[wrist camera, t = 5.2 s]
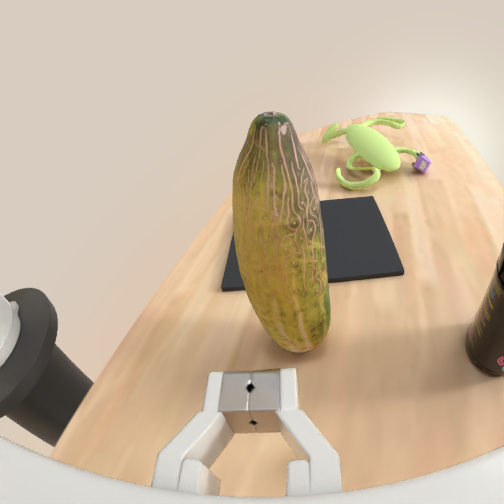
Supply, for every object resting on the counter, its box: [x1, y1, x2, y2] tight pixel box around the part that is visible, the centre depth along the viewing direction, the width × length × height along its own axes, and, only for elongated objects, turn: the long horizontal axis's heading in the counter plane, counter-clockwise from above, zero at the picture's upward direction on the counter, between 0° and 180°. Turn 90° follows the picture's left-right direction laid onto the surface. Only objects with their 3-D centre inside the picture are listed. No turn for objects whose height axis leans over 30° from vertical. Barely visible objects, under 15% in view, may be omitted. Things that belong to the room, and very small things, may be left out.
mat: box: [221, 196, 404, 291], centre depth 39 cm, size 20×16×1 cm
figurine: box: [322, 117, 431, 190], centre depth 53 cm, size 18×27×6 cm
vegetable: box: [233, 112, 330, 352], centre depth 22 cm, size 6×6×20 cm
